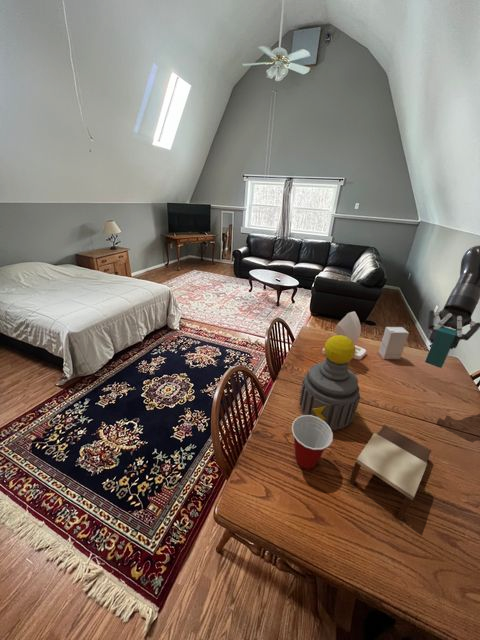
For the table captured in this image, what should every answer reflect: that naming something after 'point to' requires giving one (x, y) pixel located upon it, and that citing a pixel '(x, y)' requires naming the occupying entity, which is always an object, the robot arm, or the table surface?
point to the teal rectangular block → (440, 346)
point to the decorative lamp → (332, 385)
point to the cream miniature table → (394, 463)
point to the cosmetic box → (393, 342)
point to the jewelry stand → (351, 332)
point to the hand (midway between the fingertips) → (441, 344)
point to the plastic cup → (310, 439)
